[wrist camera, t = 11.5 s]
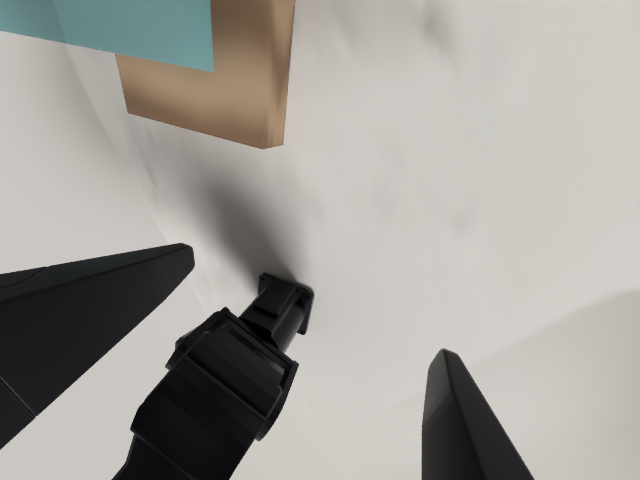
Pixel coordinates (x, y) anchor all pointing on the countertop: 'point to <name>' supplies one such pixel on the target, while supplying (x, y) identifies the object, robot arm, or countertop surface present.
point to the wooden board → (223, 77)
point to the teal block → (120, 27)
